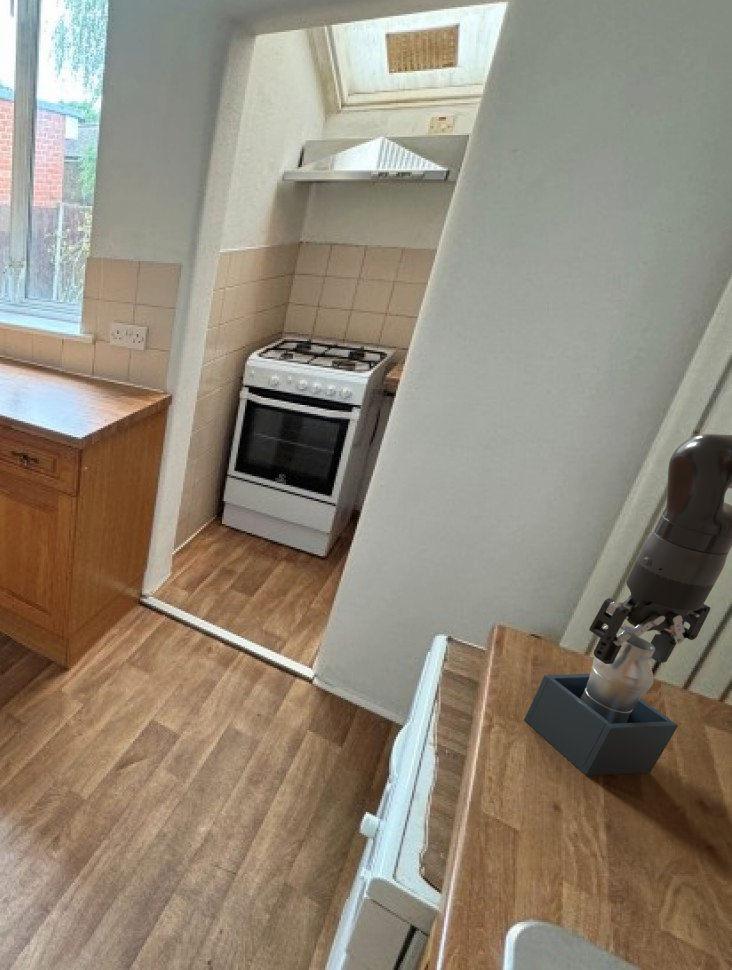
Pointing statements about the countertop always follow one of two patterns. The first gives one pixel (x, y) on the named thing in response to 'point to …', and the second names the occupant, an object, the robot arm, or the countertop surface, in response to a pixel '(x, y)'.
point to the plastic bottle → (620, 681)
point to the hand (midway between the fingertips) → (628, 659)
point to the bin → (597, 729)
